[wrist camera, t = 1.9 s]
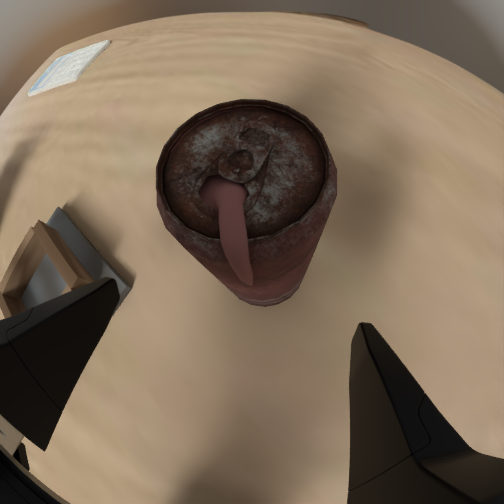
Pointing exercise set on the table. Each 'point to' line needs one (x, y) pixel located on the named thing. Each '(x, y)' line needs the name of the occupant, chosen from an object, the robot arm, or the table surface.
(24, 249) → the collar
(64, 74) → the calculator
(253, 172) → the can
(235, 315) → the table surface
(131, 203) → the table surface
